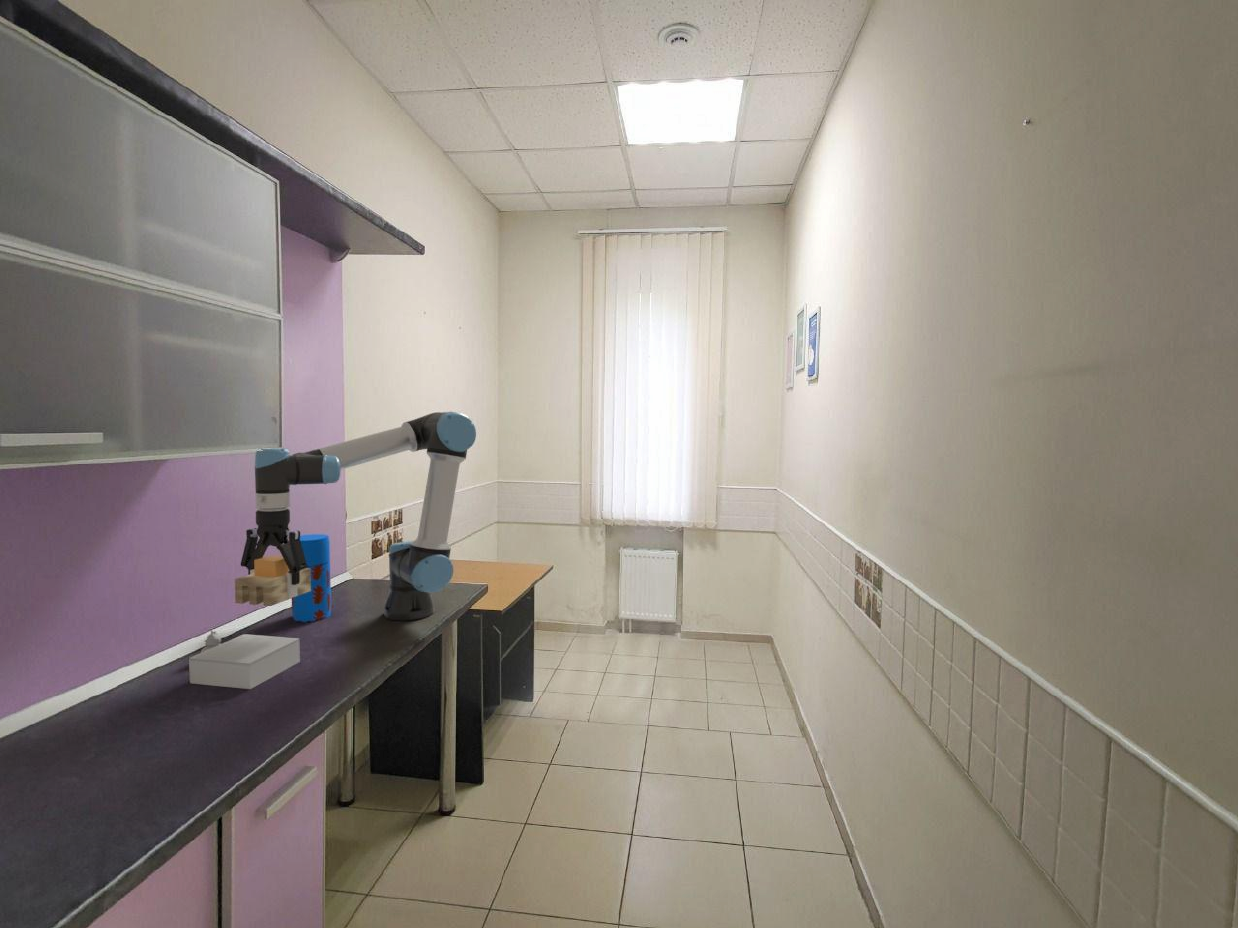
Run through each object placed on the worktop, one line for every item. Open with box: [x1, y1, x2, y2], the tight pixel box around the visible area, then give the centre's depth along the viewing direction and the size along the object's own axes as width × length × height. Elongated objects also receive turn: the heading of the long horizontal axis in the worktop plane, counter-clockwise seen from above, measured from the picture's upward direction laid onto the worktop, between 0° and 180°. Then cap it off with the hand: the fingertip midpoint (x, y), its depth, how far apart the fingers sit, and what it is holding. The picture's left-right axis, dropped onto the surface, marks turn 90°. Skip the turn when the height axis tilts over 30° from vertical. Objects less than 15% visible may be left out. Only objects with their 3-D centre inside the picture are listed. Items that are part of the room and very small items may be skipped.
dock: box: [188, 633, 301, 690], centre depth 144 cm, size 16×16×6 cm
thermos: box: [291, 533, 332, 623], centre depth 185 cm, size 11×11×25 cm
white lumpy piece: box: [200, 629, 222, 653], centre depth 152 cm, size 5×7×8 cm
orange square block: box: [254, 554, 290, 577], centre depth 152 cm, size 6×6×4 cm
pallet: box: [234, 568, 311, 607], centre depth 152 cm, size 14×10×6 cm
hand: (274, 595), depth 152 cm, fingers closed on pallet, 10 cm apart
